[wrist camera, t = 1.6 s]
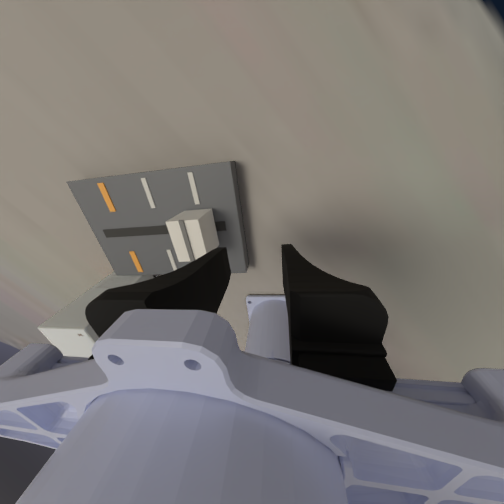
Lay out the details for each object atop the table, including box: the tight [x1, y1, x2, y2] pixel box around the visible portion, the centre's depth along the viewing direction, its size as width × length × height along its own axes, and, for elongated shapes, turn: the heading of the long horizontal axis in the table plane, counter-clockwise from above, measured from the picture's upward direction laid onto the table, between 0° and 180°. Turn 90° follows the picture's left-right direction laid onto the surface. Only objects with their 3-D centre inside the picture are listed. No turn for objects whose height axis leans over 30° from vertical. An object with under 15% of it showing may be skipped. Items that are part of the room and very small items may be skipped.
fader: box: [166, 209, 219, 262], centre depth 18 cm, size 4×3×4 cm
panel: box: [67, 161, 249, 275], centre depth 21 cm, size 12×18×2 cm, turn 96°
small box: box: [38, 271, 154, 358], centre depth 24 cm, size 8×6×10 cm
